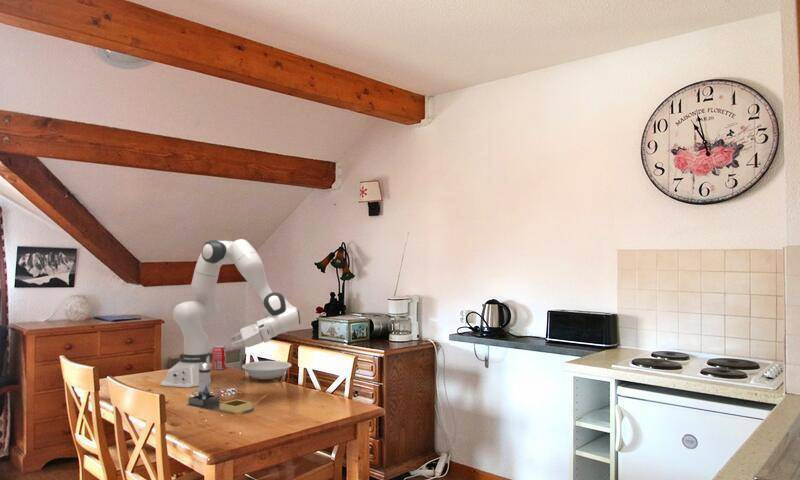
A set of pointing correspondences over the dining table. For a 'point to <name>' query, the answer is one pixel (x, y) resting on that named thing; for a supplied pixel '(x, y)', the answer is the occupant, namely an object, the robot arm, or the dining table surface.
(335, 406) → the dining table surface
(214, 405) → the plate
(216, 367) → the soda can
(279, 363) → the soup bowl
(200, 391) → the tube
